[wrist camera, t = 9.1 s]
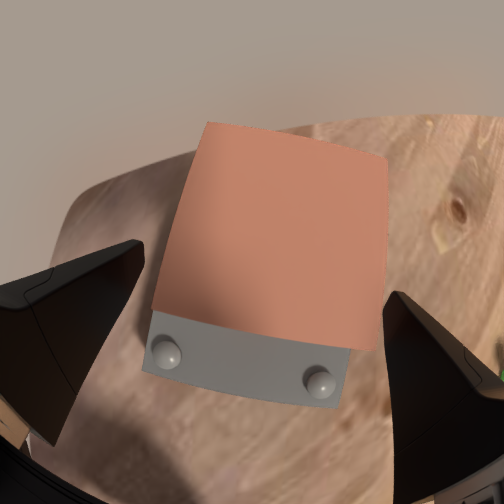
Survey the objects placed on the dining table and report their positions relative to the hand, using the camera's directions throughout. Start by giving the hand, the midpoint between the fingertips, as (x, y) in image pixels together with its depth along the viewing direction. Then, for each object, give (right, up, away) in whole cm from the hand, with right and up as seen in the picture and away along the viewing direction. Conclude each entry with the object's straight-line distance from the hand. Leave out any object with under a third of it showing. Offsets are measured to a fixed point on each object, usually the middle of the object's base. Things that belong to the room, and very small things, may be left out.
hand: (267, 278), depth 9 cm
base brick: (0, -3, +11) cm, 11 cm away
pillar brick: (0, -2, +8) cm, 8 cm away
